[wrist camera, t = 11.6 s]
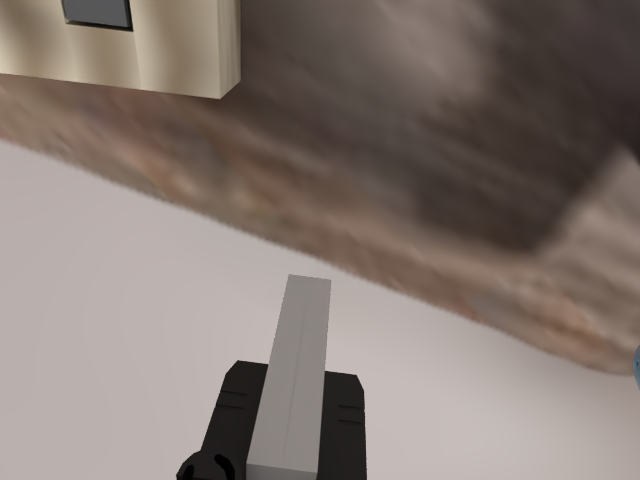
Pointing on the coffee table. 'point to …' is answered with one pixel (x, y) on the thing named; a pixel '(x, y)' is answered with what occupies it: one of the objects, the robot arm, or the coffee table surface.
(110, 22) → the graphite peg
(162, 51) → the press block
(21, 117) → the coffee table surface
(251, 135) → the coffee table surface
